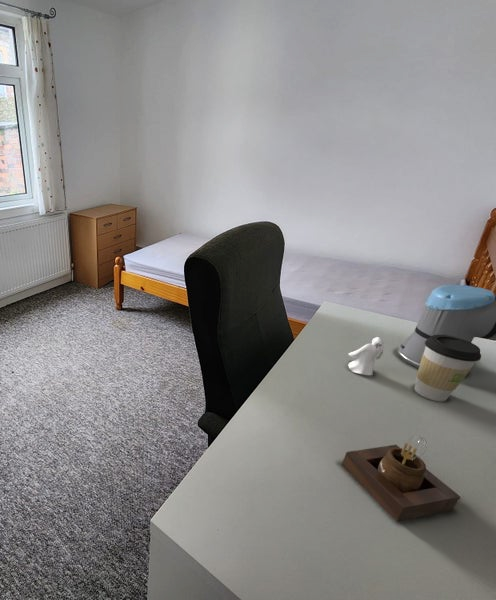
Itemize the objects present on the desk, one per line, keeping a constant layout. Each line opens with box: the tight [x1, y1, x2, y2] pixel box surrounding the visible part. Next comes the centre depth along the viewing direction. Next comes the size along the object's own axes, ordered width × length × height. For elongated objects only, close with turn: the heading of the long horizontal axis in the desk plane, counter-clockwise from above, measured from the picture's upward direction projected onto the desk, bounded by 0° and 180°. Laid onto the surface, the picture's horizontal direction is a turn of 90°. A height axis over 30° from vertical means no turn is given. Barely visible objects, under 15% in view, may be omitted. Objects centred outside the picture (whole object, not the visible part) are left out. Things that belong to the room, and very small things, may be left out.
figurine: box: [347, 336, 385, 376], centre depth 94 cm, size 8×8×12 cm
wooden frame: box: [341, 444, 461, 522], centre depth 62 cm, size 11×11×4 cm
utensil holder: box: [377, 435, 428, 493], centre depth 61 cm, size 6×6×12 cm
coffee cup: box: [414, 335, 482, 402], centre depth 84 cm, size 10×10×15 cm
